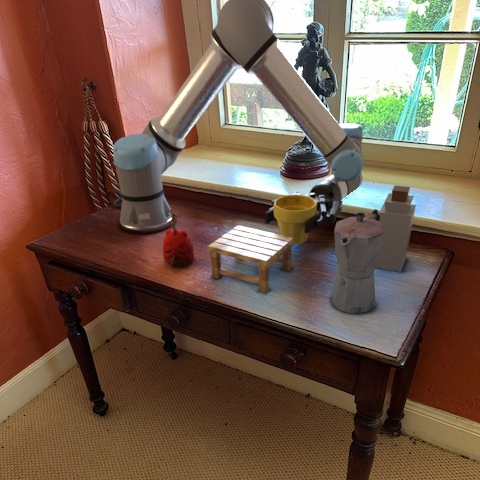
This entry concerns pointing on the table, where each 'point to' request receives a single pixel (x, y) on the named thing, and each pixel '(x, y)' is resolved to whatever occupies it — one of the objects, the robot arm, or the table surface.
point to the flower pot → (294, 215)
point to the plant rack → (251, 253)
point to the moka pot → (357, 261)
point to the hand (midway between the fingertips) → (285, 222)
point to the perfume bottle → (395, 228)
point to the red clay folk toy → (177, 246)
